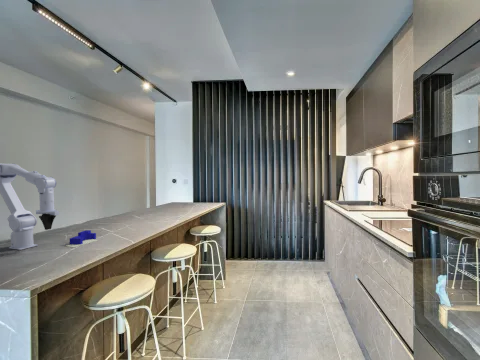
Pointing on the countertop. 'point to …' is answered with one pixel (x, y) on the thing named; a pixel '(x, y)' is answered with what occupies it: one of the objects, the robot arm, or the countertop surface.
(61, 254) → the countertop surface
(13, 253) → the countertop surface
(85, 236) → the cable clip
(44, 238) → the countertop surface
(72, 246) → the mat
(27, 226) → the robot arm
